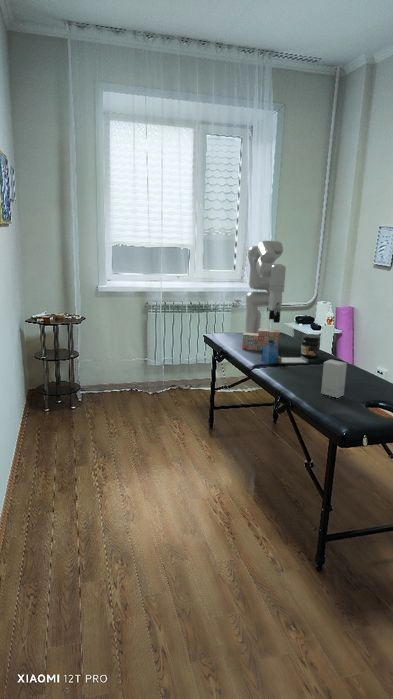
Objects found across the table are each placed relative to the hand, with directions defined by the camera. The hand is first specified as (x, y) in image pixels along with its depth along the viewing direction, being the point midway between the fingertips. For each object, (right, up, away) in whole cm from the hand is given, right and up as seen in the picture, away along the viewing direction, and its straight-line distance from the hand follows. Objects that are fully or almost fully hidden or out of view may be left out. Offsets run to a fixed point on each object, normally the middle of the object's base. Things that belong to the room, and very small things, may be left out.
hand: (274, 320), depth 245 cm
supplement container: (+24, -19, +21) cm, 37 cm away
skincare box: (+18, -36, -42) cm, 58 cm away
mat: (+11, -22, +10) cm, 26 cm away
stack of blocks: (-3, -16, +31) cm, 35 cm away
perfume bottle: (-2, -22, +6) cm, 23 cm away
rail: (+3, -22, +8) cm, 23 cm away
